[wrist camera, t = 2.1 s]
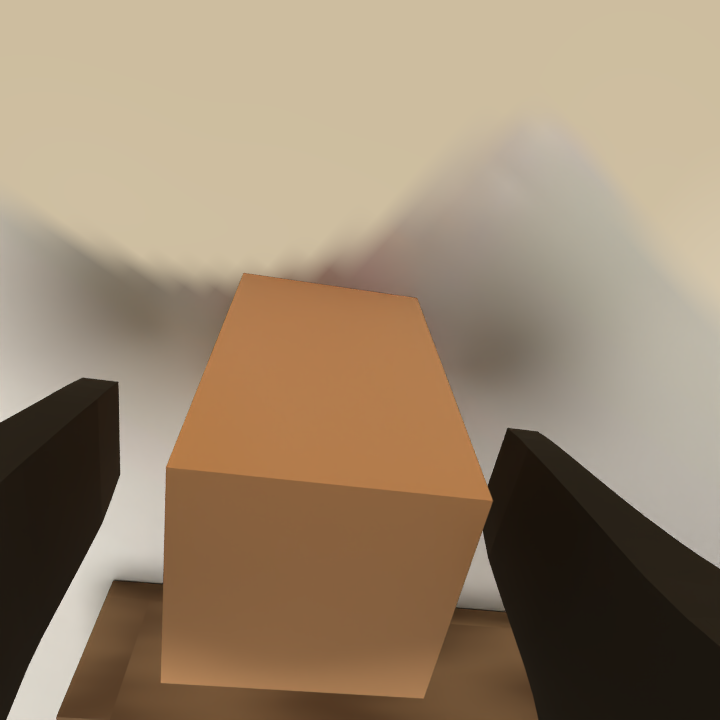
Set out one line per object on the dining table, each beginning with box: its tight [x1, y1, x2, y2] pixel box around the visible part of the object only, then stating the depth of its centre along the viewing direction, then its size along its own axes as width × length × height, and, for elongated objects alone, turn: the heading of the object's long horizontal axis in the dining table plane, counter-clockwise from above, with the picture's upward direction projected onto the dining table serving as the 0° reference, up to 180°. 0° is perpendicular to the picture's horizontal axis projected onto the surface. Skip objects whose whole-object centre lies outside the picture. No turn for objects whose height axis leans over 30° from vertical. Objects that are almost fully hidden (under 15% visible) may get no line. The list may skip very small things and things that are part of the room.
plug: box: [161, 273, 493, 699], centre depth 11 cm, size 4×4×7 cm
